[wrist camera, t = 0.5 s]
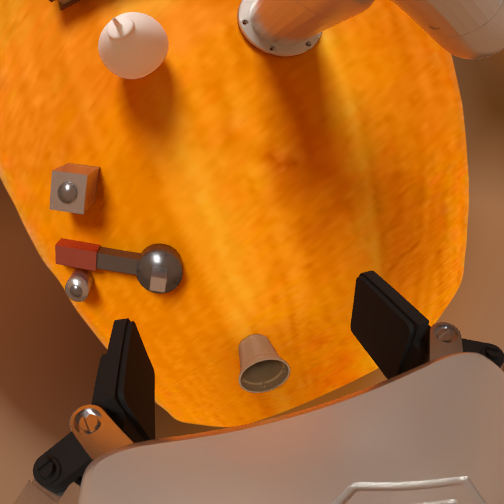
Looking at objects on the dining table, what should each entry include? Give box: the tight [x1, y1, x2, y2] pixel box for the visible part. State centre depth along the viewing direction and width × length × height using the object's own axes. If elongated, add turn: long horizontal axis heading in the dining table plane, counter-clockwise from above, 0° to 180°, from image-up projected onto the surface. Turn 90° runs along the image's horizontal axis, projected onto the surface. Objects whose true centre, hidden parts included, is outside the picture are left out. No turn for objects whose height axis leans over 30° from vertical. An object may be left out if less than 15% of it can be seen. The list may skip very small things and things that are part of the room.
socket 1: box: [50, 163, 100, 215], centre depth 34 cm, size 5×5×6 cm
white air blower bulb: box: [98, 12, 168, 79], centre depth 24 cm, size 8×8×18 cm
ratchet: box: [55, 238, 182, 293], centre depth 41 cm, size 7×20×6 cm, turn 74°
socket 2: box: [65, 268, 94, 302], centre depth 41 cm, size 4×4×4 cm
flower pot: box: [239, 334, 290, 393], centre depth 53 cm, size 9×9×9 cm
